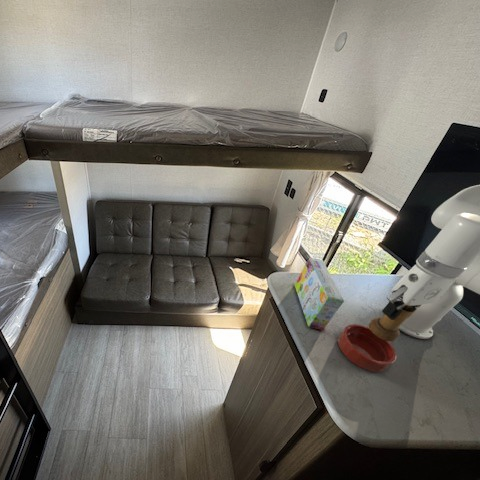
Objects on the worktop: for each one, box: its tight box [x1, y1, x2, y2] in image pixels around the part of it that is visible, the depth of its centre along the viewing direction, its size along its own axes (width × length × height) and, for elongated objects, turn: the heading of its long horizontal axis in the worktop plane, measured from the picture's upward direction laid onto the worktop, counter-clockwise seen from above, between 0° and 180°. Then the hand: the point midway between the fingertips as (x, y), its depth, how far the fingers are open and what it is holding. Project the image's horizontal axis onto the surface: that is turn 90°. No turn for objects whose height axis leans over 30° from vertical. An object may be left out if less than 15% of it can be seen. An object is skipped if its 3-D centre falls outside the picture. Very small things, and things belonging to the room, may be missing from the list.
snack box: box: [294, 257, 345, 331], centre depth 91 cm, size 21×6×15 cm, turn 168°
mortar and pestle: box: [368, 300, 414, 343], centre depth 68 cm, size 7×6×18 cm
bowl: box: [337, 323, 397, 373], centre depth 79 cm, size 13×13×5 cm
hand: (394, 314), depth 70 cm, fingers closed on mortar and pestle, 3 cm apart
